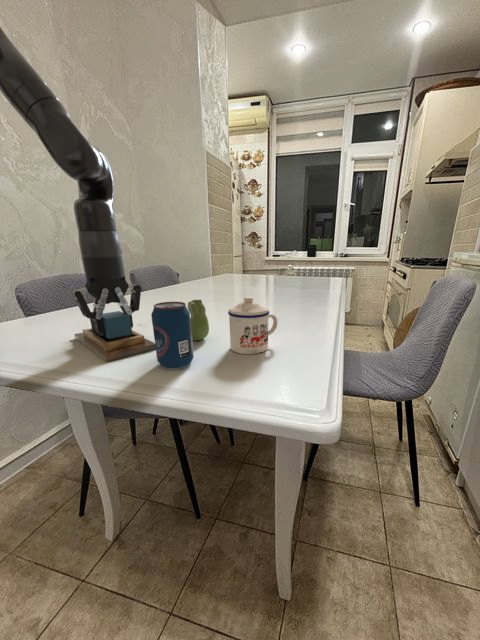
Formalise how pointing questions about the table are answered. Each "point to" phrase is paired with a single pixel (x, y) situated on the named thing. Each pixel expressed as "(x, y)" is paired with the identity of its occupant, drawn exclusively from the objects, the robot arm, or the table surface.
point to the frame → (115, 345)
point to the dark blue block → (96, 331)
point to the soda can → (172, 335)
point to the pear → (198, 320)
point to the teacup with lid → (250, 327)
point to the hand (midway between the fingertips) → (115, 332)
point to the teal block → (117, 324)
